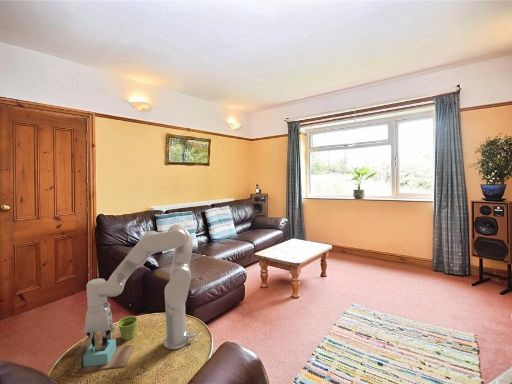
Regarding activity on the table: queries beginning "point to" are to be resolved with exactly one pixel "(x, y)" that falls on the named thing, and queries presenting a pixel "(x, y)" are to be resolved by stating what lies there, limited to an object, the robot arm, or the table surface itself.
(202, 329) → the table surface
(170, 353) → the table surface
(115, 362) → the backstop board
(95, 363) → the hole block
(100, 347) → the dowel
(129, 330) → the plant pot
